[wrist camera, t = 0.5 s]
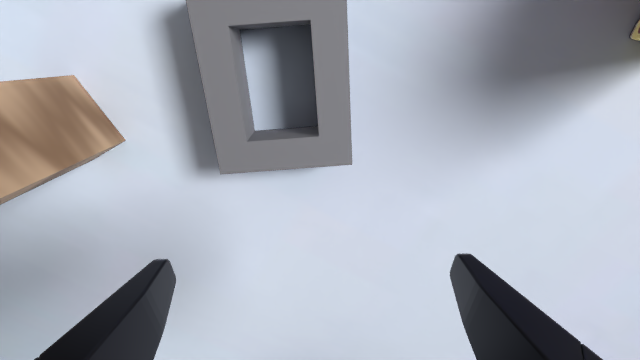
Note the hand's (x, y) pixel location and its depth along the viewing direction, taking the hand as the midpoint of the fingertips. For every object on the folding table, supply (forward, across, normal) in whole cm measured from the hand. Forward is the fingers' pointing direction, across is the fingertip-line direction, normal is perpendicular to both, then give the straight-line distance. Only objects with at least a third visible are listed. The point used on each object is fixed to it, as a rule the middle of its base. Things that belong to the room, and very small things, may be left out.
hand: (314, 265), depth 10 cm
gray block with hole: (+15, +2, -2) cm, 15 cm away
